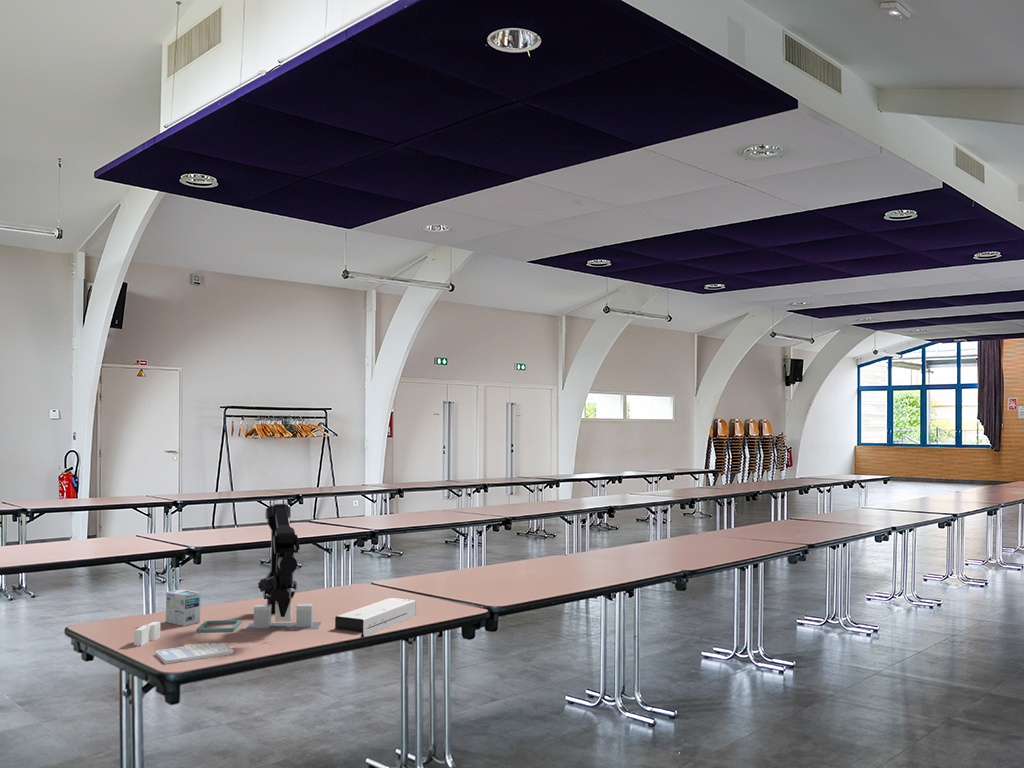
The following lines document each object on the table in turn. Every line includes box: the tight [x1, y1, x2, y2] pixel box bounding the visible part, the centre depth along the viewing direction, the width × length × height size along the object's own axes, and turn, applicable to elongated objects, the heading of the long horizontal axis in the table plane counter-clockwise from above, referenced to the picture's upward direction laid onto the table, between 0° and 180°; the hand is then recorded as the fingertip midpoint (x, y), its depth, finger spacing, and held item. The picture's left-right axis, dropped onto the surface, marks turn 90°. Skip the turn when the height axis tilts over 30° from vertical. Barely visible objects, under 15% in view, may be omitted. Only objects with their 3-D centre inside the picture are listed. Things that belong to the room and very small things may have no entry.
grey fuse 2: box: [295, 603, 314, 627], centre depth 282 cm, size 4×5×7 cm
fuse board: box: [243, 621, 322, 632], centre depth 281 cm, size 10×24×2 cm, turn 96°
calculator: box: [155, 642, 234, 664], centre depth 252 cm, size 13×20×2 cm, turn 126°
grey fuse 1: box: [253, 603, 272, 628], centre depth 280 cm, size 4×5×7 cm
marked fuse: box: [274, 598, 293, 622], centre depth 281 cm, size 4×5×7 cm
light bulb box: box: [165, 589, 202, 627], centre depth 292 cm, size 11×7×11 cm, turn 59°
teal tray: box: [195, 619, 242, 633], centre depth 279 cm, size 12×12×2 cm
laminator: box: [334, 597, 417, 638], centre depth 291 cm, size 34×12×6 cm, turn 156°
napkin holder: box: [133, 621, 161, 647], centre depth 267 cm, size 15×11×6 cm
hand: (283, 615), depth 281 cm, fingers closed on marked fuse, 4 cm apart
